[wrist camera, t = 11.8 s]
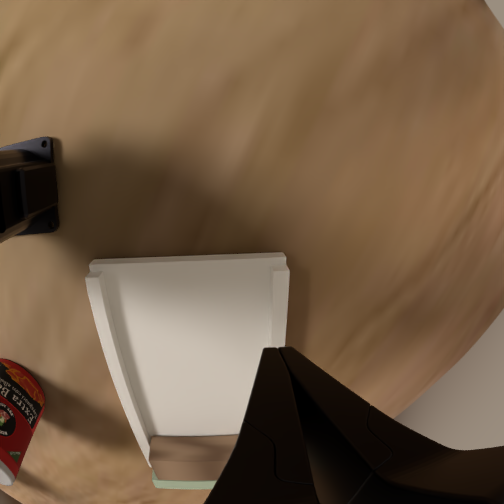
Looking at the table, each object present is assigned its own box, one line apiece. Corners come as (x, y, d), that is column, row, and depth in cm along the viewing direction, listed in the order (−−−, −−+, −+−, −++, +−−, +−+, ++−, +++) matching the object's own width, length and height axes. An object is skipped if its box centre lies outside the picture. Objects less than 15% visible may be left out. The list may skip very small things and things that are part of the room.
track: (154, 459, 27) (151, 487, 23) (93, 259, 19) (71, 283, 15) (269, 455, 28) (276, 483, 25) (283, 252, 20) (298, 275, 17)
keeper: (159, 456, 25) (158, 479, 22) (151, 435, 24) (148, 460, 21) (260, 453, 26) (264, 476, 23) (261, 432, 25) (266, 457, 22)
